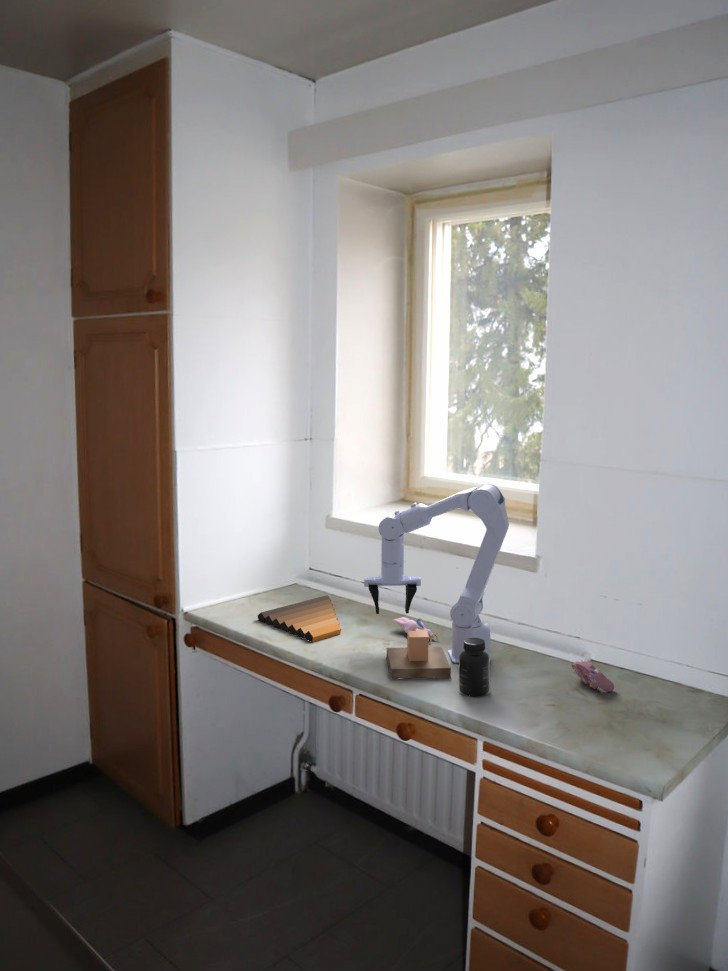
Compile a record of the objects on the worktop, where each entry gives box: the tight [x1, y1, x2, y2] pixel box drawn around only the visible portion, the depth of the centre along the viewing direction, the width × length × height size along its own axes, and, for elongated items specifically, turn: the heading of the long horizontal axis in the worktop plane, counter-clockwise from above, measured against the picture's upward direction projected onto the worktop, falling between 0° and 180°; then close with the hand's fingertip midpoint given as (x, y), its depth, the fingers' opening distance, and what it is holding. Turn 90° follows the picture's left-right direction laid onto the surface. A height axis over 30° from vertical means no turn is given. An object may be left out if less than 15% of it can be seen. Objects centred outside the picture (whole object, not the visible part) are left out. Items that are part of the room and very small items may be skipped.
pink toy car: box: [571, 659, 615, 693], centre depth 187 cm, size 10×5×7 cm, turn 22°
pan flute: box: [257, 594, 342, 643], centre depth 232 cm, size 25×3×25 cm
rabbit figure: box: [392, 616, 439, 644], centre depth 220 cm, size 6×6×15 cm
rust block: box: [406, 631, 430, 661], centre depth 197 cm, size 5×5×6 cm
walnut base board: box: [386, 646, 452, 680], centre depth 198 cm, size 14×14×2 cm
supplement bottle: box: [458, 638, 491, 698], centre depth 183 cm, size 7×7×12 cm
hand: (392, 612), depth 210 cm, fingers open, 7 cm apart
